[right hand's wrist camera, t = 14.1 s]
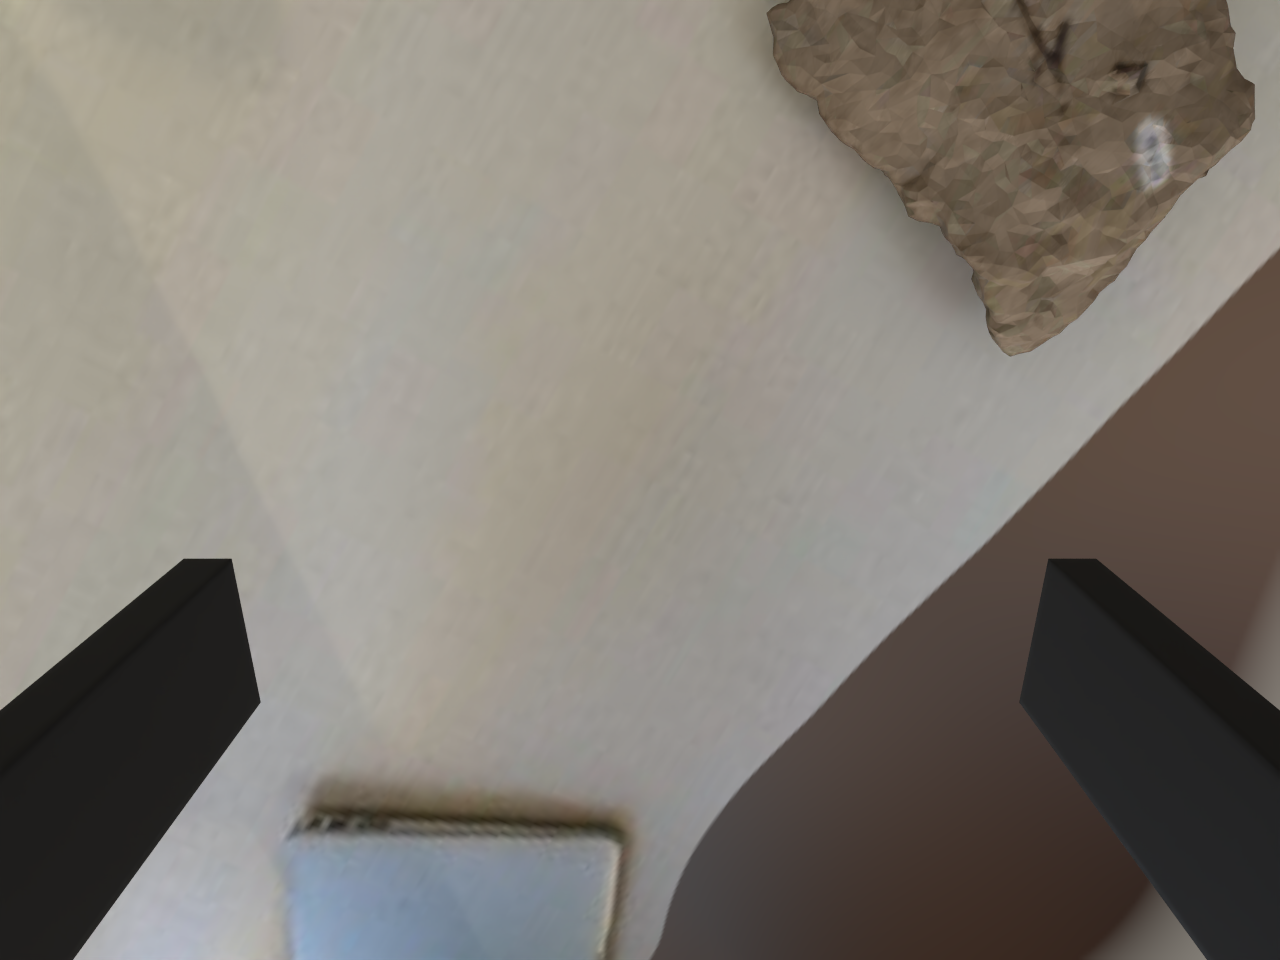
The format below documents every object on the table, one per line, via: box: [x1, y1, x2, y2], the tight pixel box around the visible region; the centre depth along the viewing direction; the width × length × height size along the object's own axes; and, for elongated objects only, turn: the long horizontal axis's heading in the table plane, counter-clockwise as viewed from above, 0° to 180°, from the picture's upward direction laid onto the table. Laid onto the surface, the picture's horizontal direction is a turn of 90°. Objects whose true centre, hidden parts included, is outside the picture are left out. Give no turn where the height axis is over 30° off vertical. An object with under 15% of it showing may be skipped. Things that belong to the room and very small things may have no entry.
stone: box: [767, 0, 1255, 356], centre depth 36 cm, size 21×15×6 cm
